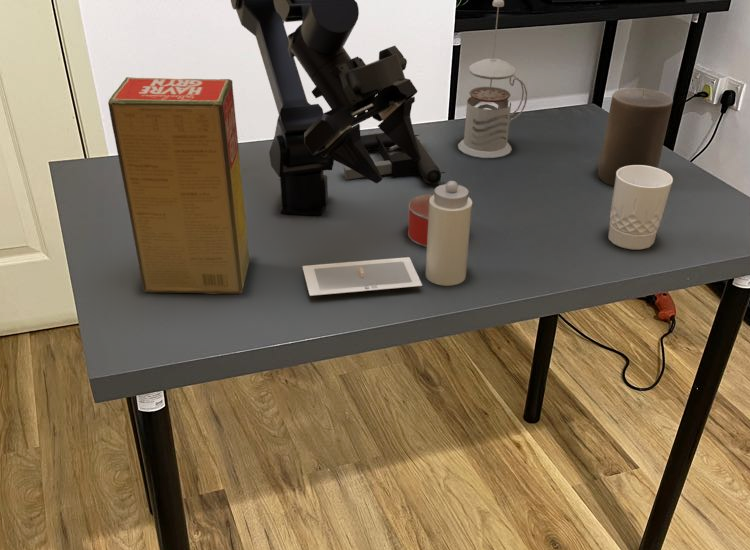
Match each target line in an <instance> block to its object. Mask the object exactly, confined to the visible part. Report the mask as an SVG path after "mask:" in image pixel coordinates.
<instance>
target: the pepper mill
mask: <svg viewBox="0 0 750 550" xmlns="http://www.w3.org/2000/svg"><path fill="white" fill-rule="evenodd" d="M433 194H434V195H433V196H431V197H430V199H429V214H428V232H427V247H426V253H425V272H424V273H425V274H424V275H425V278H426V280H427V281H429V282H430V283H433V284H435V285H438V286H443V287H444V286H445V287H450V286H456V285H459V284H462V283H463V282H464V281H465V280H466V278H467V269H468V258H469V257H468V256H469V246H470V237H471V236H470V234H471V225H472V224H471V223H472V214H473V213H472V211H473V200H472V198H471V197H469V195H470V194H469V189H468V188H466V187H465V186H463V185H461V184H458V183H457V182H456V181H455V180H449V181H447V182H446V183H444V184H440V185H438V186H436V187H435V188H434V191H433Z"/></svg>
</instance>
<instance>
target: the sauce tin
mask: <svg viewBox="0 0 750 550" xmlns="http://www.w3.org/2000/svg"><path fill="white" fill-rule="evenodd" d="M433 195H434V193H430V194H429V193H428V194H423V195H422V194H421V195H418V196H416V197H414V198H412V199H411V200H410V201H409V204H408V227H407V228H408V230H407V236H408V239H409V240H410V241H411V242H413V243H414V244H416V245H418V246H420V247H424V248H427V232H428V214H429V199H430V197H431V196H433Z"/></svg>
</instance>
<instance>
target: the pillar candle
mask: <svg viewBox="0 0 750 550" xmlns="http://www.w3.org/2000/svg"><path fill="white" fill-rule="evenodd" d="M673 103H674V99H673V97H672V96H671V95H670V94H668V93H665V92H664V91H661V90H655V89H652V88H651V89H650V88H644V87H620V88H619V89H616V90H615V91H613V92H612V95H611V100H610V107H609V112H608V116H607V122H606V127H605V133H604V138H603V142H602V147H601V153H600V158H599V163H598V168H597V176H598V177H599V179H600V180H601V181H602V182H604V183H605V184H606V185H609V186H612V187H614V185H615V178H616V172H617V170H618V169H620V168H622V167H625V166H630V165H645V166H651V167H655V168H659V166H660V161H661V156H662V152H663V147H664V142H665V139H666V134H667V130H668V126H669V121H670V116H671V113H672V112H671V111H672V108H673Z"/></svg>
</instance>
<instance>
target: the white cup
mask: <svg viewBox="0 0 750 550" xmlns="http://www.w3.org/2000/svg"><path fill="white" fill-rule="evenodd" d="M673 182H674V178H673V176H672V175H671V174H670V173H669V172H667V171H665V170H664V169H662V168H659V167H658V168H655V167H651V166H645V165H630V166H625V167H622V168H620V169H618V170H617V172H616V178H615V185H614V186H613V192H612V199H611V205H610V215H609V227H608V232H607V233H608V234H607V235H608V236H607V237H608V240H609V241H610V242H611V243H612V244H613V245H615V246H617V247H619V248H622V249H627V250H638V251H639V250H645V249H649V248H650V247H652V246H653V245H654V243H655V240H656V237H657V232H658V229H659V227H660V225H661V222H662V219H663V216H664V213H665V209H666V206H667V202H668V199H669V196H670V192H671V189H672V185H673Z"/></svg>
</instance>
